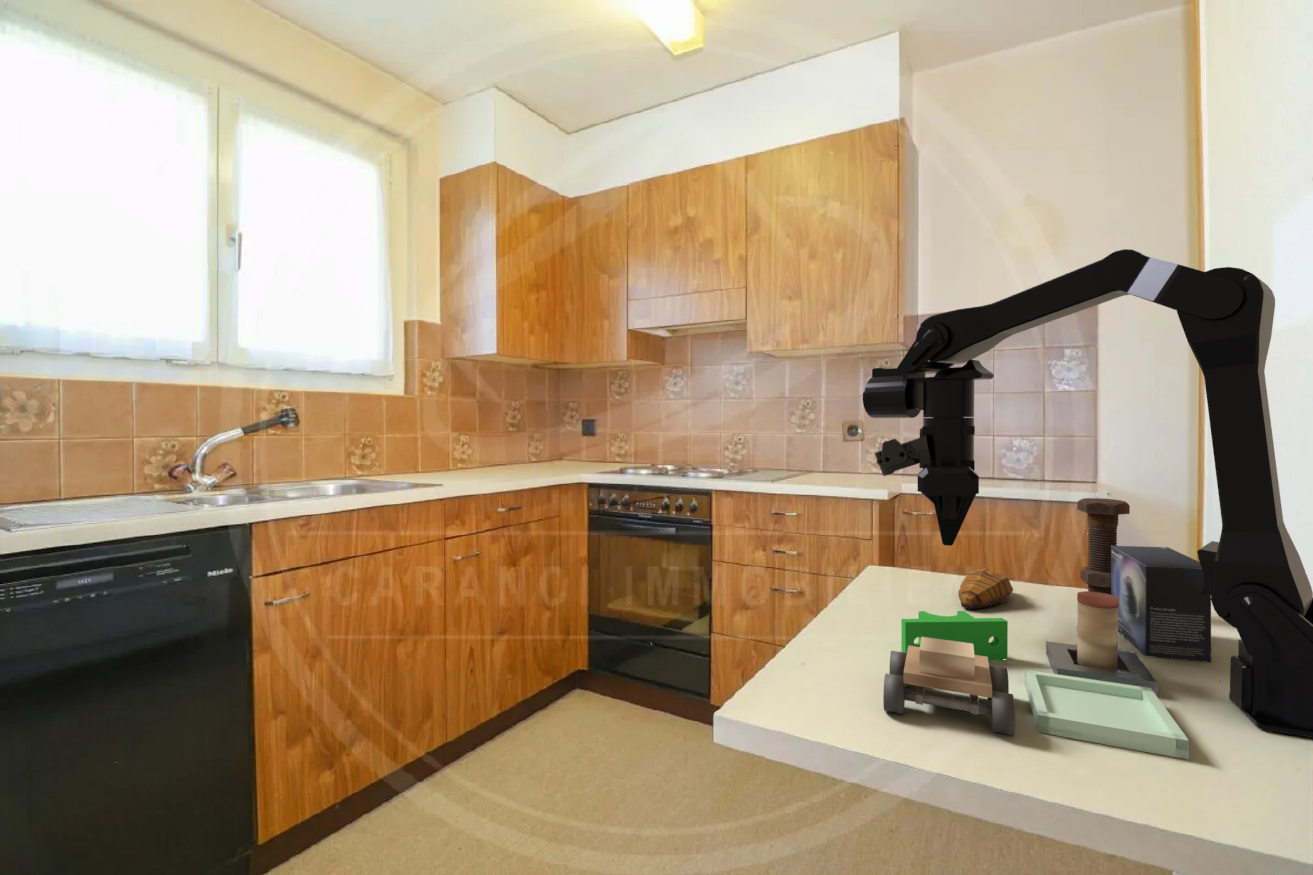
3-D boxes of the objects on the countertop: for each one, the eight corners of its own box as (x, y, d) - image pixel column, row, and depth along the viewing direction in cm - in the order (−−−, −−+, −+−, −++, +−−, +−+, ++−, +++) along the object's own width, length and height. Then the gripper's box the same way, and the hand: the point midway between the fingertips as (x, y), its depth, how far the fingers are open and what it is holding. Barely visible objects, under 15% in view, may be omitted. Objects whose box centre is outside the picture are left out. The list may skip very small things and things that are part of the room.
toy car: (1005, 695, 58) (1006, 634, 58) (1014, 741, 50) (1015, 671, 50) (892, 676, 63) (892, 620, 62) (883, 716, 54) (883, 651, 54)
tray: (1150, 703, 56) (1150, 688, 56) (1188, 759, 47) (1189, 740, 47) (1024, 684, 60) (1024, 669, 60) (1037, 731, 51) (1037, 714, 51)
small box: (1106, 625, 77) (1107, 543, 77) (1168, 630, 75) (1170, 546, 74) (1141, 656, 67) (1142, 562, 67) (1214, 663, 65) (1216, 566, 64)
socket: (1134, 665, 65) (1134, 652, 65) (1157, 696, 57) (1157, 682, 57) (1045, 653, 68) (1046, 641, 68) (1057, 681, 61) (1057, 668, 61)
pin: (1113, 669, 64) (1114, 593, 63) (1122, 683, 60) (1123, 603, 60) (1073, 664, 65) (1074, 589, 65) (1079, 677, 62) (1080, 598, 62)
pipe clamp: (989, 649, 70) (989, 610, 70) (1007, 662, 66) (1008, 621, 66) (892, 649, 70) (892, 610, 70) (905, 662, 67) (905, 621, 66)
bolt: (1072, 608, 83) (1073, 500, 83) (1080, 600, 87) (1081, 496, 86) (1125, 618, 79) (1126, 504, 79) (1131, 609, 83) (1132, 500, 82)
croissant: (992, 618, 80) (993, 580, 80) (941, 606, 86) (941, 571, 85) (1029, 597, 89) (1029, 563, 89) (980, 588, 94) (980, 556, 94)
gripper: (886, 417, 87) (886, 525, 88) (870, 419, 70) (870, 552, 71) (973, 417, 82) (973, 531, 83) (979, 418, 65) (978, 561, 66)
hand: (947, 542), depth 76 cm, fingers open, 3 cm apart
